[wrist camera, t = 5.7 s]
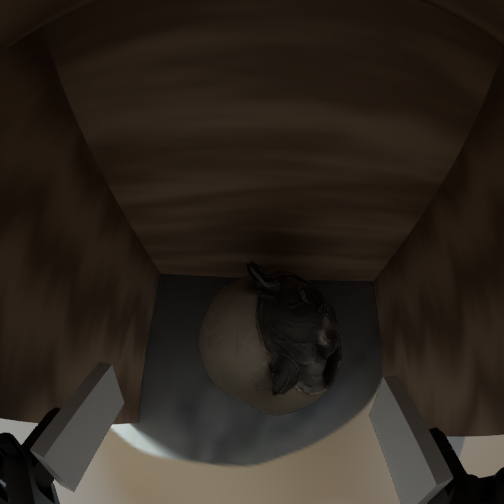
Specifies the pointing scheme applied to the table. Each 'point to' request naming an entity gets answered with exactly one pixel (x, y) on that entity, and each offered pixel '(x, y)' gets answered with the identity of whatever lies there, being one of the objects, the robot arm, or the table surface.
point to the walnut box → (252, 180)
